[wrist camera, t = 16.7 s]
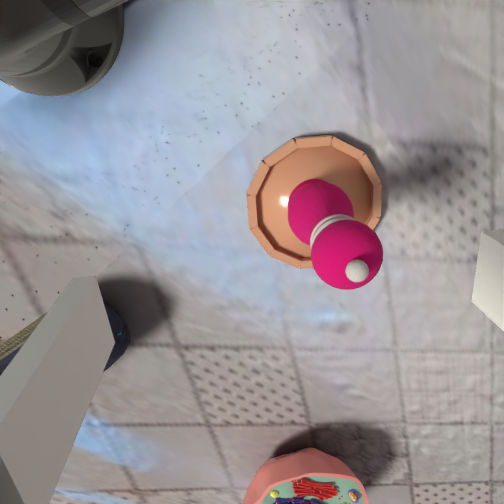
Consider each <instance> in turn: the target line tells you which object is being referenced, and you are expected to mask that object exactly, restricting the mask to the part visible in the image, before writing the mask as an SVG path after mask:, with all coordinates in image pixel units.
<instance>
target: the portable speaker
mask: <svg viewBox="0 0 504 504" xmlns="http://www.w3.org/2000/svg"><path fill="white" fill-rule="evenodd" d="M103 303H104V306H105V309H106V313H107V316H108V320H109V323H110V327H111V330H112V334H113V337H114V340H115V344H114V346H113V349H112V351H111V354H110V356H109V359H108V361H107V363H106V366H105V368H104V371H105V370H107V369H108V368H109V367H110V366H111V365H112V364H113V363H114V362H115V361H116V360H118V359H119V358H120V357H121V356H122V355H123V354H124V352H125V350H126V349H127V347H128V345H129V343H130V332H129V329H128V326H127V324H126V323H125V322H124V320H123V319H122V317H121V316H120V315H119V313H118V312H117V311H116V310H115V309H114V308H113V307H111V306H110V305H108V304H107V303H105V302H103ZM46 314H47V313H45V314H44V315H42V316H41V317H40V318H38V319H37V320H35V321H34V322H32V323H31V324H30V325H28V326H27V327H25V328H24V329H23V330H21V331H20V332H18V333H17V334H15V335H14V336H13V337H11V338H10V339H8V340H7V341H6V342H4V343H3V344H1V345H0V365H6V364H10V362H11V361H12V360H13V358H14V357H15V356H16V354H17V353H18V351H19V350H20V349H21V347H22V346H23V345H24V343H25V342H26V341H27V339H28V338H29V337H30V335H31V334H32V333H33V331H34V330H35V329H36V327H37V326H38V325H39V323H40V322H41V321H42V319H43V318H44V316H45V315H46ZM9 348H10V349H11V350H10V349H9ZM7 352H8V353H7ZM4 354H5V355H4ZM104 371H103V372H104Z"/></svg>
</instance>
